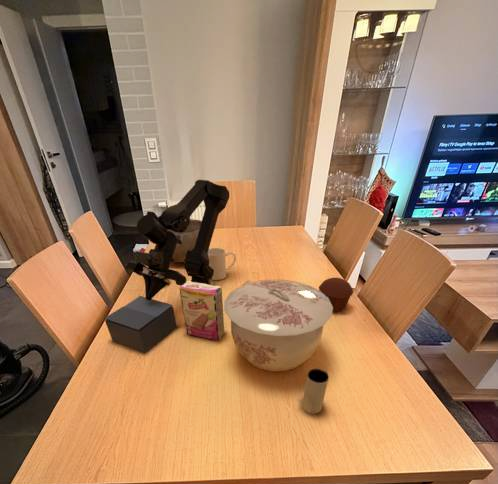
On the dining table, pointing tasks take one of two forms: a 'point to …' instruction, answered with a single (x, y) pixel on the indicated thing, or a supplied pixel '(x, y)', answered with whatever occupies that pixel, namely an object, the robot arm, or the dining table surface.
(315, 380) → the grey black-topped cylinder
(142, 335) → the carton
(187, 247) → the bowl
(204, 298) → the candy bar box
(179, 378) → the dining table surface
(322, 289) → the muffin
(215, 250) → the mug
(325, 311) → the chamber pot
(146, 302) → the flap
